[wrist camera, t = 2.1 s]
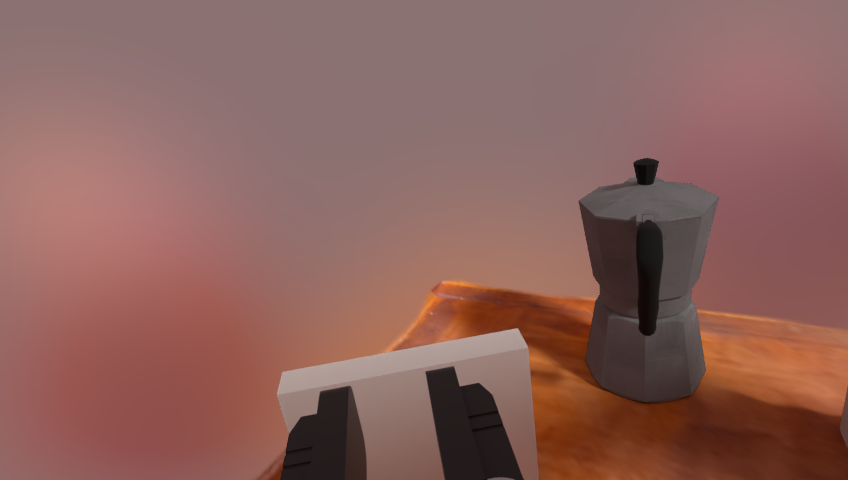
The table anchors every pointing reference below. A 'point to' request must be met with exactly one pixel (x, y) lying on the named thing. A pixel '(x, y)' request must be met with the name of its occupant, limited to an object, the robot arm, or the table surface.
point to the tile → (421, 400)
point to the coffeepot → (647, 284)
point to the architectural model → (845, 421)
